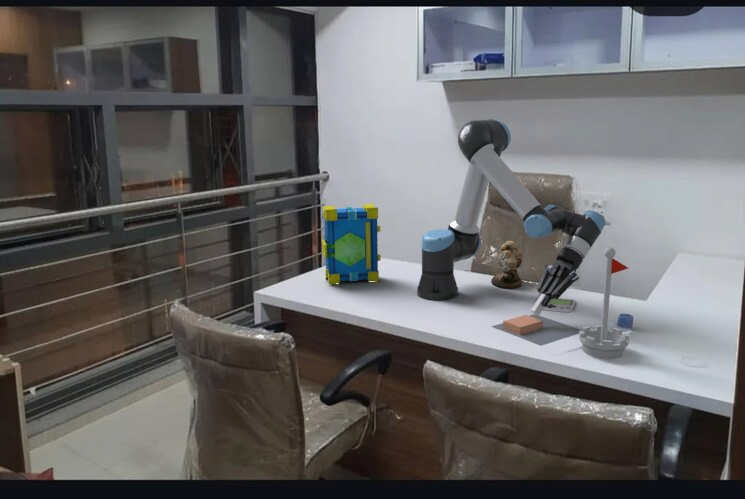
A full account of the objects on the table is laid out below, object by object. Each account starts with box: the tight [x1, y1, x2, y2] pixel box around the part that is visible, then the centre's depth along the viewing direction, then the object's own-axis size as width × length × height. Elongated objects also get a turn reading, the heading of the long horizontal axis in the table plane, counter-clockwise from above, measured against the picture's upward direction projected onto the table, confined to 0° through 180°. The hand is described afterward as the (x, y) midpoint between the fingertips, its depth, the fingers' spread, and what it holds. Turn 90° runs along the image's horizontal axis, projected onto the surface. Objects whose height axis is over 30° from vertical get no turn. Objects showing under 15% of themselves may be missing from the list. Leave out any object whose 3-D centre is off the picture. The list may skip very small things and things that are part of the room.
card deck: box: [502, 314, 543, 335], centre depth 194 cm, size 7×2×10 cm
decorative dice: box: [616, 313, 634, 330], centre depth 195 cm, size 4×4×4 cm
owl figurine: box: [490, 240, 523, 290], centre depth 244 cm, size 18×12×17 cm, turn 175°
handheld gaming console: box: [542, 297, 576, 314], centre depth 216 cm, size 10×2×15 cm
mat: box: [491, 313, 582, 347], centre depth 193 cm, size 20×20×1 cm
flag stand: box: [578, 247, 630, 360], centre depth 173 cm, size 13×13×30 cm
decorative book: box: [321, 203, 382, 285], centre depth 249 cm, size 14×23×30 cm, turn 100°
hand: (534, 313), depth 195 cm, fingers closed
